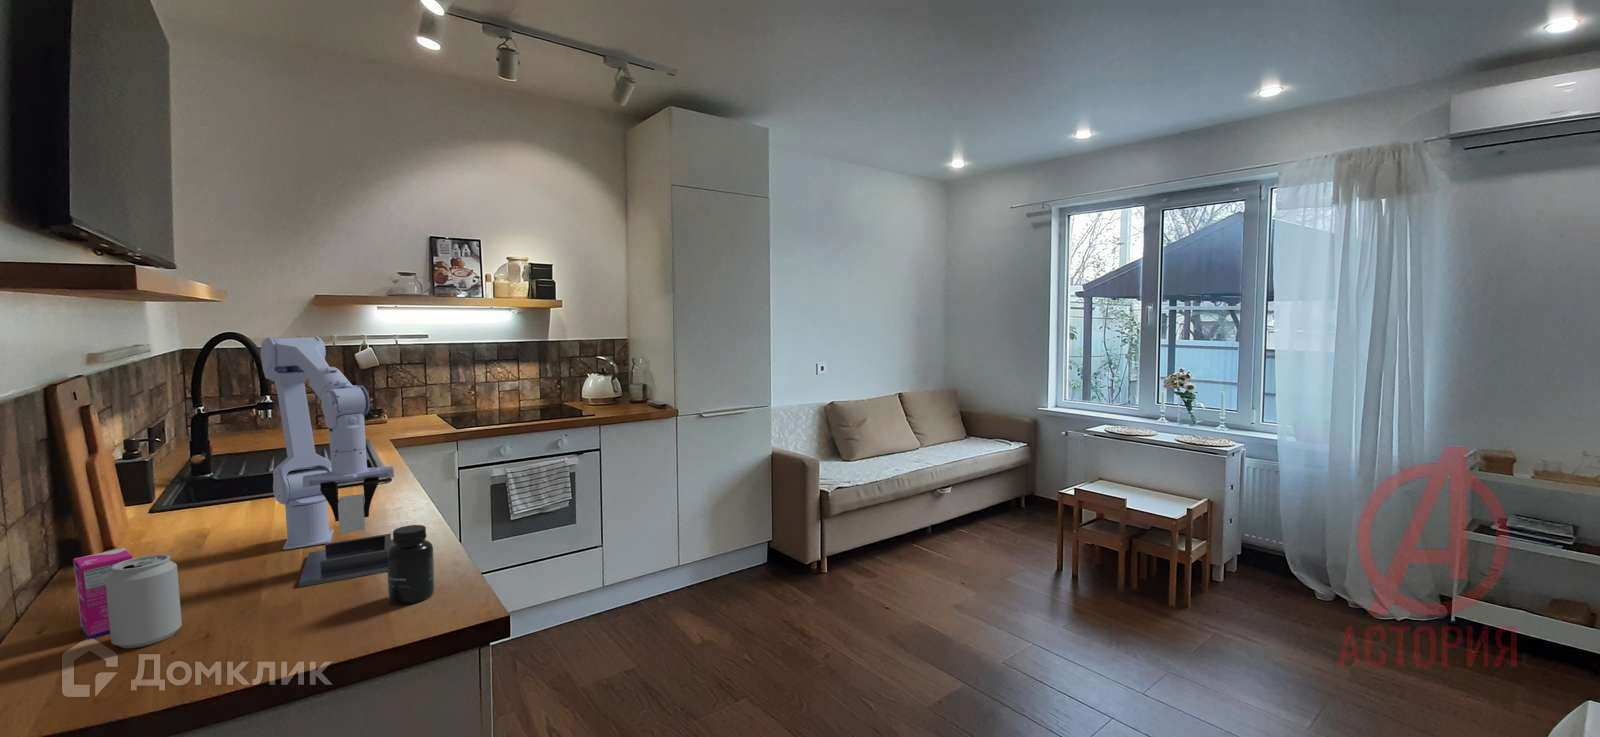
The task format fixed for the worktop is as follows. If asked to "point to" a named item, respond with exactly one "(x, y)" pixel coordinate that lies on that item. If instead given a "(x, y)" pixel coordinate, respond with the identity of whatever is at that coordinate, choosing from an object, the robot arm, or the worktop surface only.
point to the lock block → (351, 513)
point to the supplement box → (95, 589)
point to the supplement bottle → (410, 566)
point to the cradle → (347, 560)
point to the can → (143, 601)
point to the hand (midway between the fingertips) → (352, 518)
